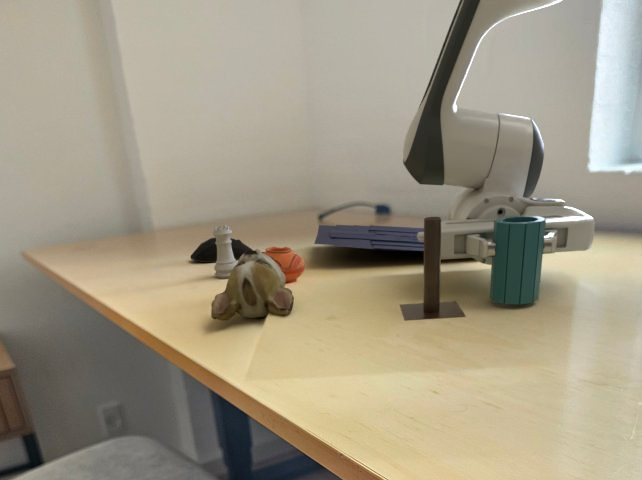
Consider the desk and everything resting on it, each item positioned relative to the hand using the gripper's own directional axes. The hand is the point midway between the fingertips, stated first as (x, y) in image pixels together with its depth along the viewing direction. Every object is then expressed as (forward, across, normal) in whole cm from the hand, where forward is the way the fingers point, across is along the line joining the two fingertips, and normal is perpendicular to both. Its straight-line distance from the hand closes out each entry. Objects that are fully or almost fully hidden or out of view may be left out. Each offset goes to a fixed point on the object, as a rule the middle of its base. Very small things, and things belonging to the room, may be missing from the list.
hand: (520, 248), depth 75 cm
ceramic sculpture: (-8, -32, +8) cm, 34 cm away
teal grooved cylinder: (-1, 0, +6) cm, 6 cm away
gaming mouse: (-50, -42, +8) cm, 66 cm away
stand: (0, -10, +8) cm, 13 cm away
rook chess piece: (-34, -40, +8) cm, 53 cm away
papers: (-45, -10, +8) cm, 47 cm away
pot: (-22, -30, +8) cm, 38 cm away
